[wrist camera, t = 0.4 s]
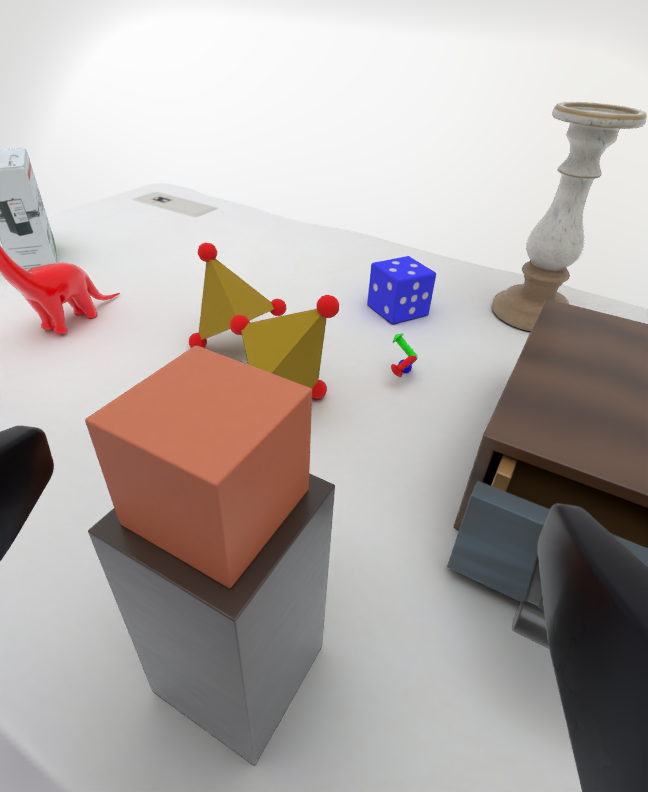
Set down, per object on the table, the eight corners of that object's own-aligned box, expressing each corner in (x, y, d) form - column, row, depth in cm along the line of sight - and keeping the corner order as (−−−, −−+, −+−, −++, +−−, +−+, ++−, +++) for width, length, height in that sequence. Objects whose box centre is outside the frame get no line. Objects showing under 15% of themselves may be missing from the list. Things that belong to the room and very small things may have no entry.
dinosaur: (134, 298, 55) (108, 181, 47) (19, 368, 44) (-38, 229, 36) (106, 291, 56) (76, 175, 48) (-13, 357, 45) (-75, 220, 37)
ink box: (14, 249, 64) (-21, 149, 57) (56, 245, 66) (27, 147, 58) (11, 277, 58) (-30, 168, 51) (57, 271, 60) (25, 165, 52)
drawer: (720, 790, 21) (818, 735, 17) (420, 630, 26) (443, 559, 22) (699, 459, 37) (747, 392, 33) (516, 399, 42) (539, 335, 38)
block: (230, 590, 15) (216, 485, 12) (118, 524, 16) (83, 419, 14) (309, 489, 18) (313, 388, 15) (209, 443, 20) (195, 344, 17)
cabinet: (714, 643, 27) (810, 554, 22) (453, 527, 32) (483, 435, 27) (699, 434, 41) (756, 351, 36) (518, 378, 46) (546, 298, 41)
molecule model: (302, 291, 55) (282, 189, 46) (423, 374, 46) (429, 265, 36) (177, 369, 50) (127, 270, 41) (285, 482, 40) (251, 386, 31)
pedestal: (254, 766, 22) (234, 621, 14) (151, 691, 24) (86, 530, 16) (322, 646, 26) (335, 484, 18) (229, 591, 28) (207, 426, 20)
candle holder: (543, 343, 51) (626, 120, 38) (475, 309, 56) (528, 103, 44) (587, 319, 55) (674, 112, 43) (520, 290, 61) (580, 98, 48)
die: (429, 315, 55) (437, 272, 52) (392, 325, 53) (398, 281, 50) (402, 296, 58) (408, 255, 55) (366, 304, 56) (371, 262, 53)
